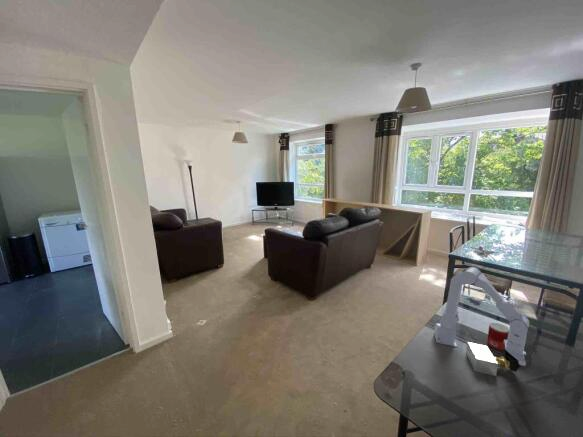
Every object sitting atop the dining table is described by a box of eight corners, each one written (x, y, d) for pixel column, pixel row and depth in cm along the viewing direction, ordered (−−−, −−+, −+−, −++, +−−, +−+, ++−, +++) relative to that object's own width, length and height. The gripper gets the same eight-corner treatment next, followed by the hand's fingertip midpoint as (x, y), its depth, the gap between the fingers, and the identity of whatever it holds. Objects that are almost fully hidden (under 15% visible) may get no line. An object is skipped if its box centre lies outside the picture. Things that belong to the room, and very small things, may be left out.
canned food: (510, 352, 119) (512, 333, 118) (490, 349, 122) (493, 329, 120) (502, 343, 126) (505, 324, 125) (484, 339, 129) (486, 321, 127)
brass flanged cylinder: (490, 369, 109) (491, 358, 108) (485, 360, 114) (486, 350, 113) (517, 375, 105) (519, 365, 104) (511, 366, 110) (513, 356, 109)
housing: (474, 370, 108) (476, 358, 107) (465, 353, 119) (467, 341, 118) (495, 376, 105) (498, 363, 104) (485, 357, 116) (487, 345, 115)
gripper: (537, 355, 98) (531, 383, 100) (518, 333, 111) (513, 358, 113) (515, 350, 100) (510, 378, 102) (500, 330, 113) (495, 354, 116)
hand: (510, 367), depth 108 cm, fingers closed on brass flanged cylinder, 3 cm apart
